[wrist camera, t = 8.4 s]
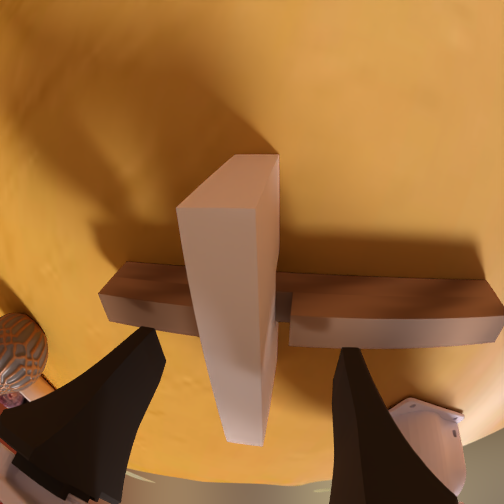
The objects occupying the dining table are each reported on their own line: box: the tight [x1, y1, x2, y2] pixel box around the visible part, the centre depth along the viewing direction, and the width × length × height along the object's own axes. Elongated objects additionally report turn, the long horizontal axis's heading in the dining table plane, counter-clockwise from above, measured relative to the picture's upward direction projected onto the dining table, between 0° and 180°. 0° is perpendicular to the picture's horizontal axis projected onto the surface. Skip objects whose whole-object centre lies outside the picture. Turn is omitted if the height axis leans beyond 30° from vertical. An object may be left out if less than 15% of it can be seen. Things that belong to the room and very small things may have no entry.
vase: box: [0, 313, 48, 395], centre depth 19 cm, size 7×7×9 cm
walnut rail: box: [98, 262, 504, 349], centre depth 13 cm, size 20×2×3 cm, turn 93°
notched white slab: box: [176, 154, 280, 446], centre depth 12 cm, size 12×2×6 cm, turn 3°
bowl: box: [0, 375, 55, 409], centre depth 30 cm, size 30×30×8 cm
